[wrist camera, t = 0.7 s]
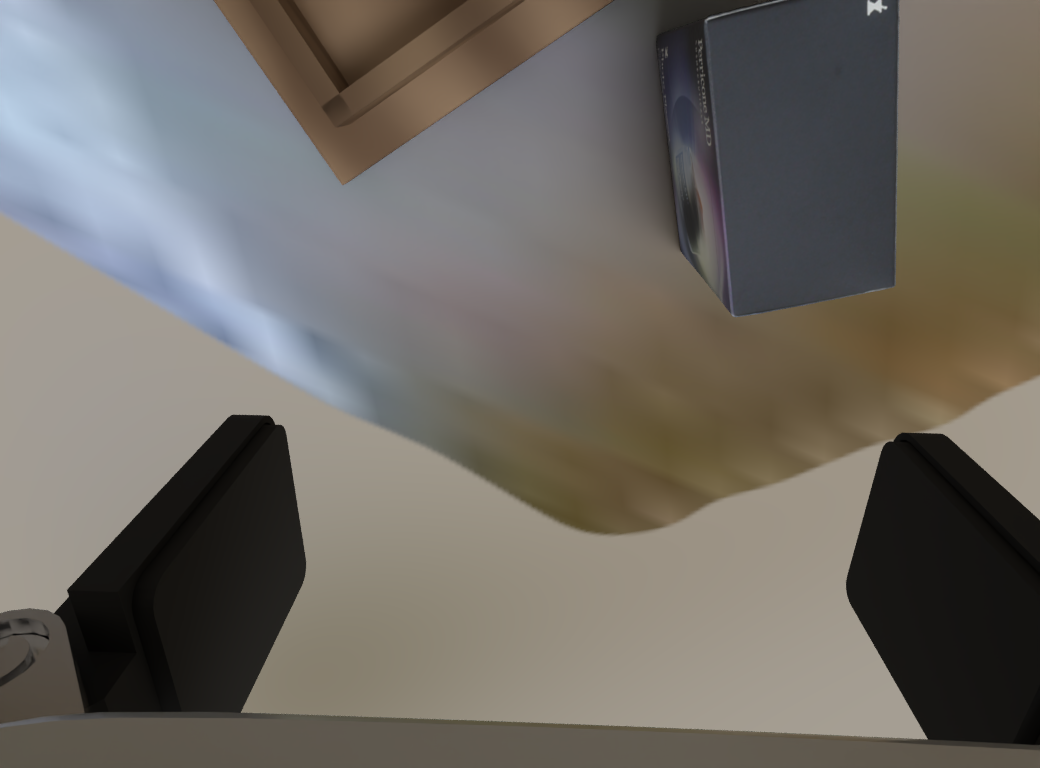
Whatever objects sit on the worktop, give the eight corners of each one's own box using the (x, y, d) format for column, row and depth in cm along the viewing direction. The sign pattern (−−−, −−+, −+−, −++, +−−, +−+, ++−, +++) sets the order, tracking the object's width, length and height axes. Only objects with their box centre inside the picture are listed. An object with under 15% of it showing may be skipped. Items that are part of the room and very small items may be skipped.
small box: (645, 34, 31) (695, 11, 21) (790, -2, 30) (911, -43, 20) (674, 258, 35) (727, 324, 25) (802, 231, 34) (907, 288, 24)
